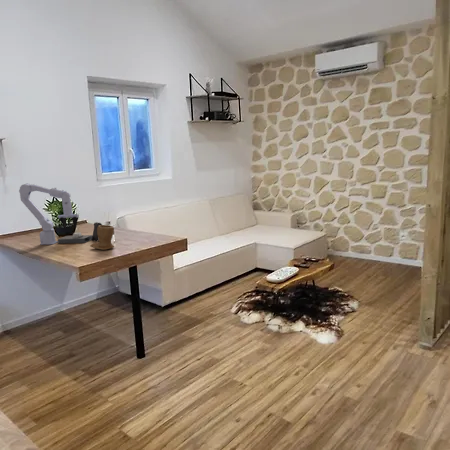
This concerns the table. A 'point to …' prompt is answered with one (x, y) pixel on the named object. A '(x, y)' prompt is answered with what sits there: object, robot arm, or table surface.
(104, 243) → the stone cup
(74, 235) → the steel peg
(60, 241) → the square hole plate
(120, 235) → the table surface
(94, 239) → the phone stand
